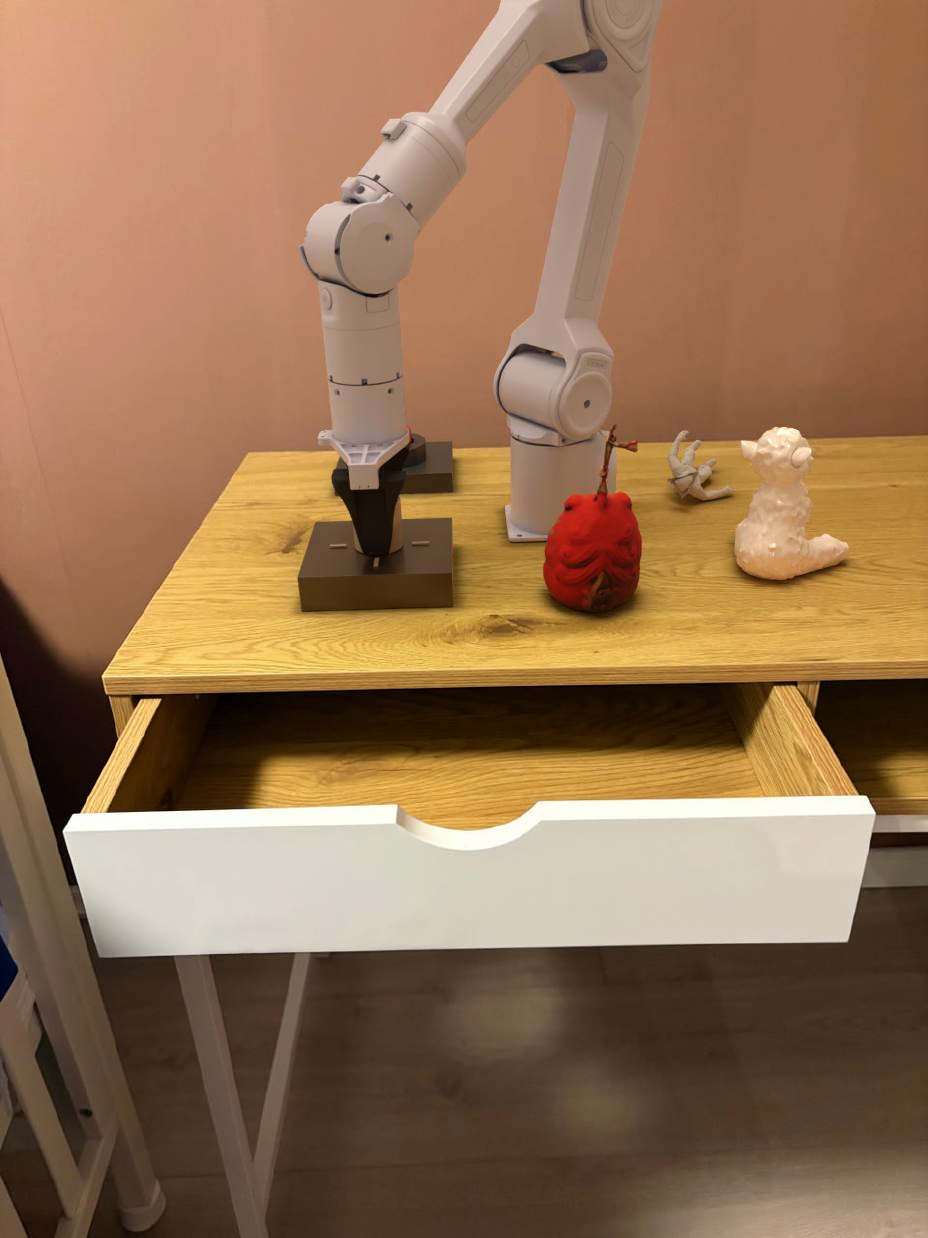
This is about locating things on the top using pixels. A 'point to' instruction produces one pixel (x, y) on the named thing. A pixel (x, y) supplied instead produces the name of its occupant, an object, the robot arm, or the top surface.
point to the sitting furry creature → (782, 512)
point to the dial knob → (397, 531)
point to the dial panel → (378, 569)
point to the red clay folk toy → (595, 546)
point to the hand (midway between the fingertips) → (378, 541)
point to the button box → (425, 467)
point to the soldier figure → (691, 472)
